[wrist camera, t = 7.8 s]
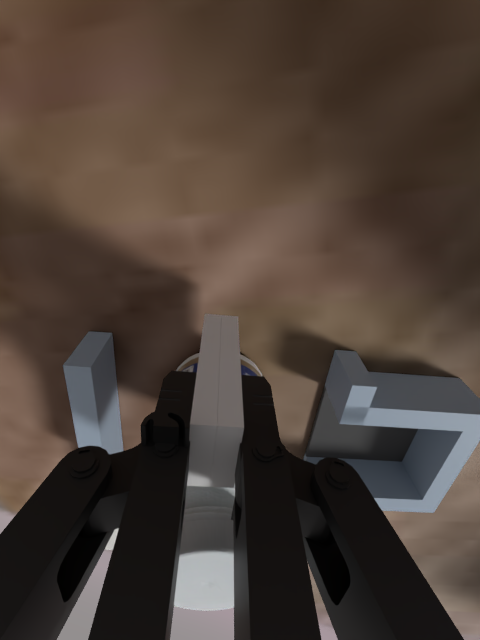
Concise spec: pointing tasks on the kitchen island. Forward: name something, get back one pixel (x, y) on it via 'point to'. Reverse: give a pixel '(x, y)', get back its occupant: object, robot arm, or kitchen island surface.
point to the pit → (355, 438)
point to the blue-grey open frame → (350, 408)
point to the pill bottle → (207, 536)
